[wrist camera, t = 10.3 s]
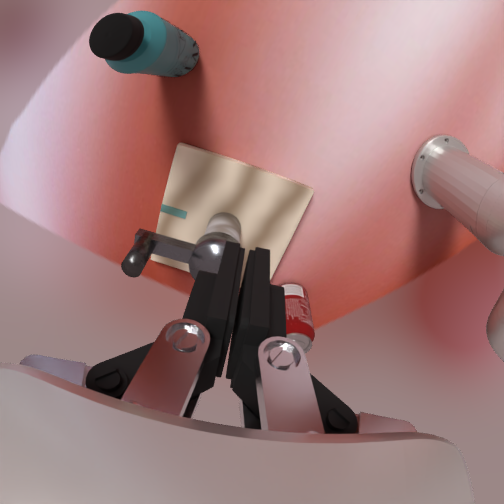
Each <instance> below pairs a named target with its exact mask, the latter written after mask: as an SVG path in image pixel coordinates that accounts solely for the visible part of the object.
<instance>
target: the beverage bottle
mask: <svg viewBox="0 0 504 504" xmlns="http://www.w3.org/2000/svg"><path fill="white" fill-rule="evenodd" d="M174 26H175V25H174ZM174 26H173V25H171V24H170V22H169V23H168V21H167V22H166V21H165V20H163V19H162V17H161V18H160V17H159V16H158V15H156V14H154V13H152V12H148V11H136V12H132V13H129V14H123V13H113V14H110V15H107V16H105V17H104V18H102V19H101V20H100V21H99V22H98V23H97V24H96V25H95V26H94V28H93V30H92V32H91V35H90V39H89V45H90V48H91V50H92V52H93V53H94V54H95V55H96V56H98V57H100V58H104V59H105V60H106V62H107V64H108V65H109V66H110V67H111V68H112V69H114V70H115V71H117V72H120V73H126V74H131V73H140V74H148V75H149V74H151V75H159V76H162V77H163V76H168V77H171V78H172V77H177V78H178V77H179V76H181V77H182V76H183V75H184V74H186V73H188V72H190V70H191V71H192V70H193V69H194V68H193V67H194V66H195V65H196V63H198V62H197V61H198V57H200V56H199V47H198V46H197V45H198V44H197V43H196V41H194V40H193V38H192V37H191V36H190V37H189V36H188V35H189V34H188V35H186V34H187V33H186V32H184V31H183V30H179V29H180V28H178V29H177V27H174Z"/></svg>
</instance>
